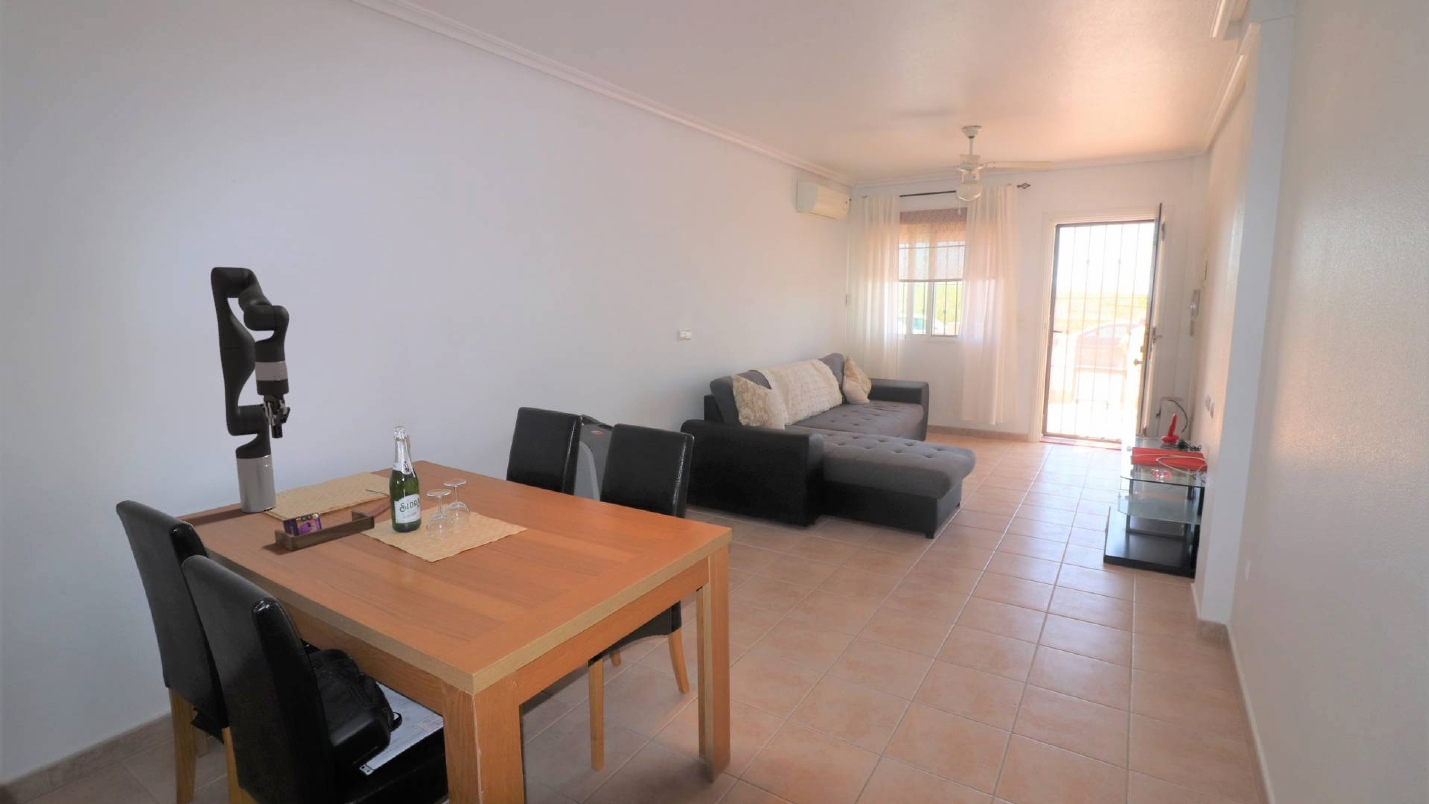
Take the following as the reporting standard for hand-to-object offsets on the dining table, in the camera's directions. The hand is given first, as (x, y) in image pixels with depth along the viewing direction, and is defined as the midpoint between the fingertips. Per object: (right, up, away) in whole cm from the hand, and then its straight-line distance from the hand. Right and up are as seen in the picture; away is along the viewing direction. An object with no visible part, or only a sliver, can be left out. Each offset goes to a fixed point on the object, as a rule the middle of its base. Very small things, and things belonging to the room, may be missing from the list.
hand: (277, 437), depth 189 cm
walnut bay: (+14, -28, 0) cm, 31 cm away
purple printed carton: (+9, -28, -2) cm, 30 cm away
